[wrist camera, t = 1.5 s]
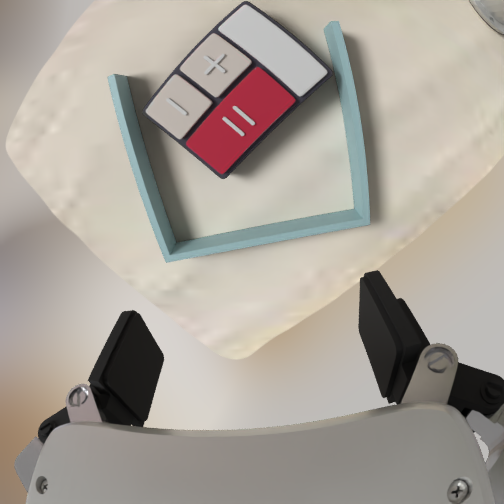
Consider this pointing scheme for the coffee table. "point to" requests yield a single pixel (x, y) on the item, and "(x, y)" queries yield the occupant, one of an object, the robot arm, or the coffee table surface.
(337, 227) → the teal u-shaped piece
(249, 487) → the robot arm
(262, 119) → the calculator
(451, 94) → the coffee table surface
